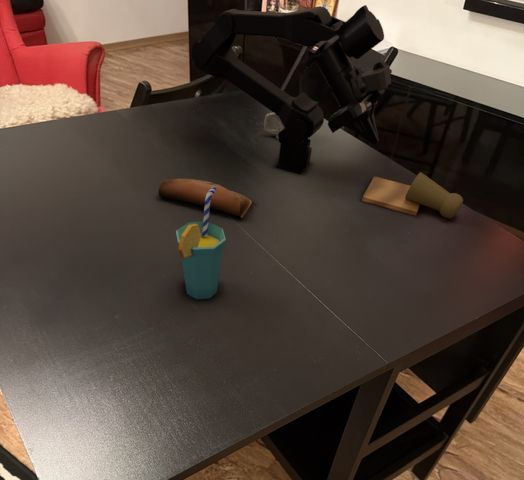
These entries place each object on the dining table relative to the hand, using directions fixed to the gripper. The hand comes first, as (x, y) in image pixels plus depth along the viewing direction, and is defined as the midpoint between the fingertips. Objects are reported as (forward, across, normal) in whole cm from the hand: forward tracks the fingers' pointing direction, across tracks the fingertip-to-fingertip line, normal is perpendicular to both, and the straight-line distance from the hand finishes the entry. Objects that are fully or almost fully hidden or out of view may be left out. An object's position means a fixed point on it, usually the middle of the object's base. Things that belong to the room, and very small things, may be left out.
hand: (376, 143), depth 101 cm
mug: (-12, +13, +27) cm, 32 cm away
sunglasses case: (-11, -26, +26) cm, 38 cm away
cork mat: (+12, 0, +2) cm, 12 cm away
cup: (-1, -50, +16) cm, 52 cm away
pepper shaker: (+11, 0, -3) cm, 12 cm away
